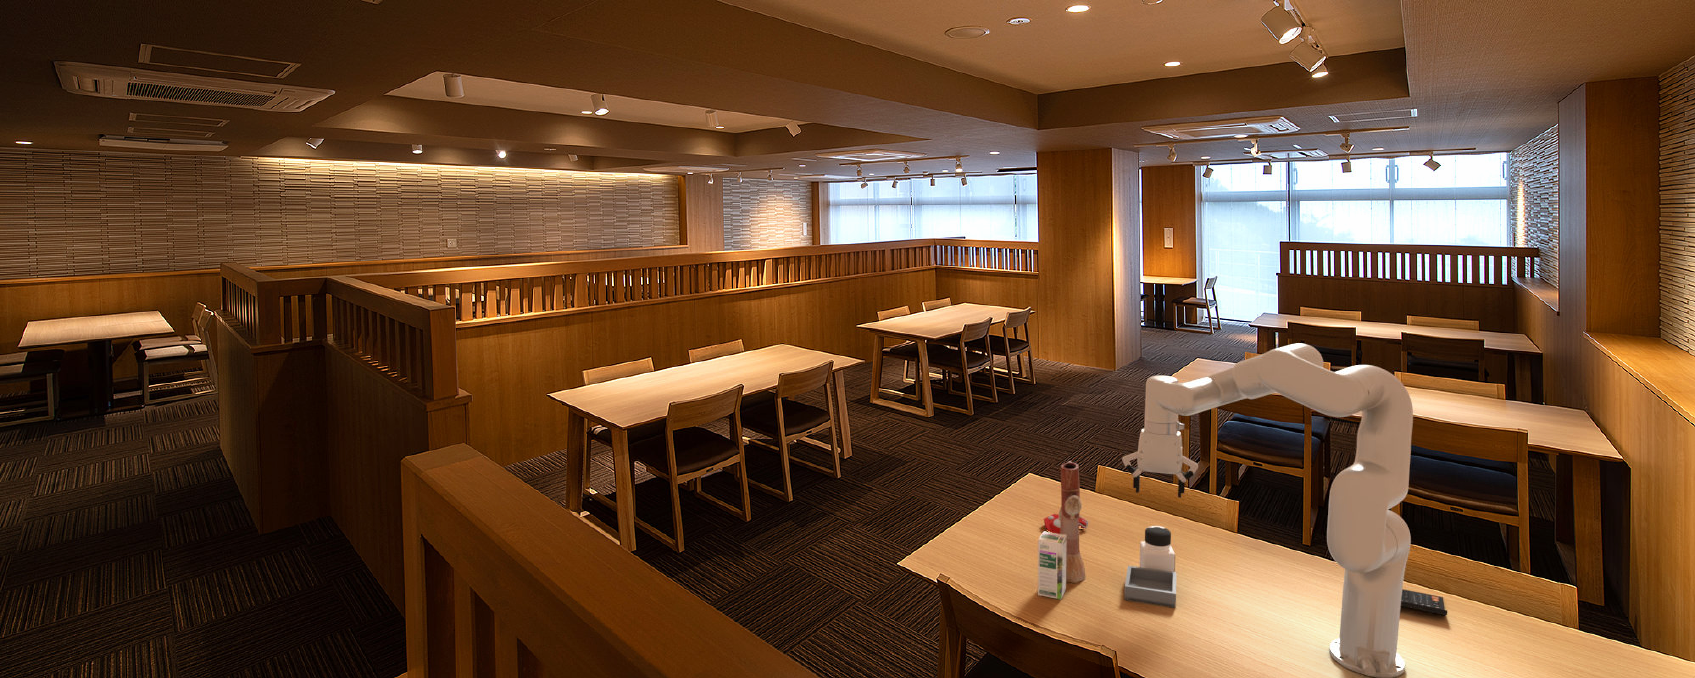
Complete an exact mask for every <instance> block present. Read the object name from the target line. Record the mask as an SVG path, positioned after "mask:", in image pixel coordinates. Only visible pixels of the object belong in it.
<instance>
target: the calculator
mask: <svg viewBox="0 0 1695 678" xmlns="http://www.w3.org/2000/svg"><path fill="white" fill-rule="evenodd" d="M1401 607H1403V608H1408V609H1414V610H1419V611H1422V612H1428V613H1432V614H1438V615H1442V616H1447V615H1448V610H1446V608H1445V602H1444V597H1443V596H1438V595H1435V594H1434V595H1433V594H1430V593H1424V592H1418V591H1413V590H1409V589H1404V588H1402V596H1401Z"/></svg>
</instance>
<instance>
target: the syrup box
mask: <svg viewBox="0 0 1695 678" xmlns="http://www.w3.org/2000/svg"><path fill="white" fill-rule="evenodd" d="M1066 540H1067V536H1066V535H1065V534H1057V533H1050V532H1047V530H1045V531H1043V532H1042V533H1041V534H1040V535H1039V538H1038V540H1037V558H1038V559H1037V564H1038V565H1037V567H1038V568H1037V569H1038V570H1037V572H1038V573H1037V576H1038V577H1037V578H1038V579H1037V582H1038V584H1037V596H1040V597H1042V596H1043V597H1046V598H1050V599H1051V598H1052V599H1055V600H1060V601H1061V600H1062V598H1063V597H1064V594H1065V593H1066V589H1067V582H1066Z"/></svg>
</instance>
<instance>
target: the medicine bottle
mask: <svg viewBox="0 0 1695 678" xmlns="http://www.w3.org/2000/svg"><path fill="white" fill-rule="evenodd" d="M1171 543H1172V533H1171V531H1170V529H1168V528H1166V527H1164V526H1160V525H1152V526H1147V527H1146V528H1145V529H1144V540H1142V541H1141V540H1140V542H1139V567H1142V568H1149V569H1156V570H1163V571H1170V572H1176V553H1175V551H1174V549H1173V547H1172V544H1171Z"/></svg>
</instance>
